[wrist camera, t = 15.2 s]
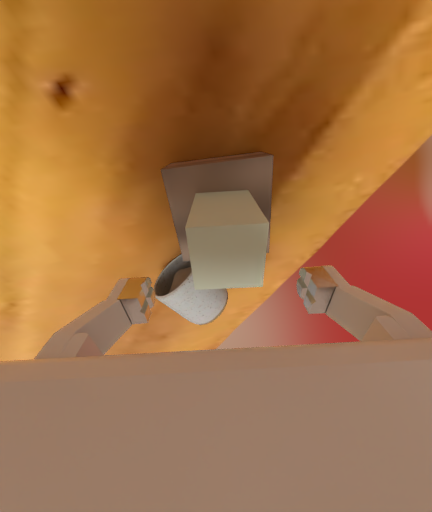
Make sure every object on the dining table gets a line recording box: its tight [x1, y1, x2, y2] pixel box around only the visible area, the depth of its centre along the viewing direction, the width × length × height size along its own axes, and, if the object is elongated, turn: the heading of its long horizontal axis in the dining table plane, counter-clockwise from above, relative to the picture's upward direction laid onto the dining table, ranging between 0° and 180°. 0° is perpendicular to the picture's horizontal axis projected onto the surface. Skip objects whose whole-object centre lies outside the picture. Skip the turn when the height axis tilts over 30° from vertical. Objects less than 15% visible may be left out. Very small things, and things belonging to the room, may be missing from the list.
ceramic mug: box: [154, 254, 228, 325], centre depth 25 cm, size 11×8×8 cm
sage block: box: [185, 190, 269, 290], centre depth 16 cm, size 5×5×8 cm
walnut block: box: [161, 152, 273, 261], centre depth 21 cm, size 10×10×5 cm
